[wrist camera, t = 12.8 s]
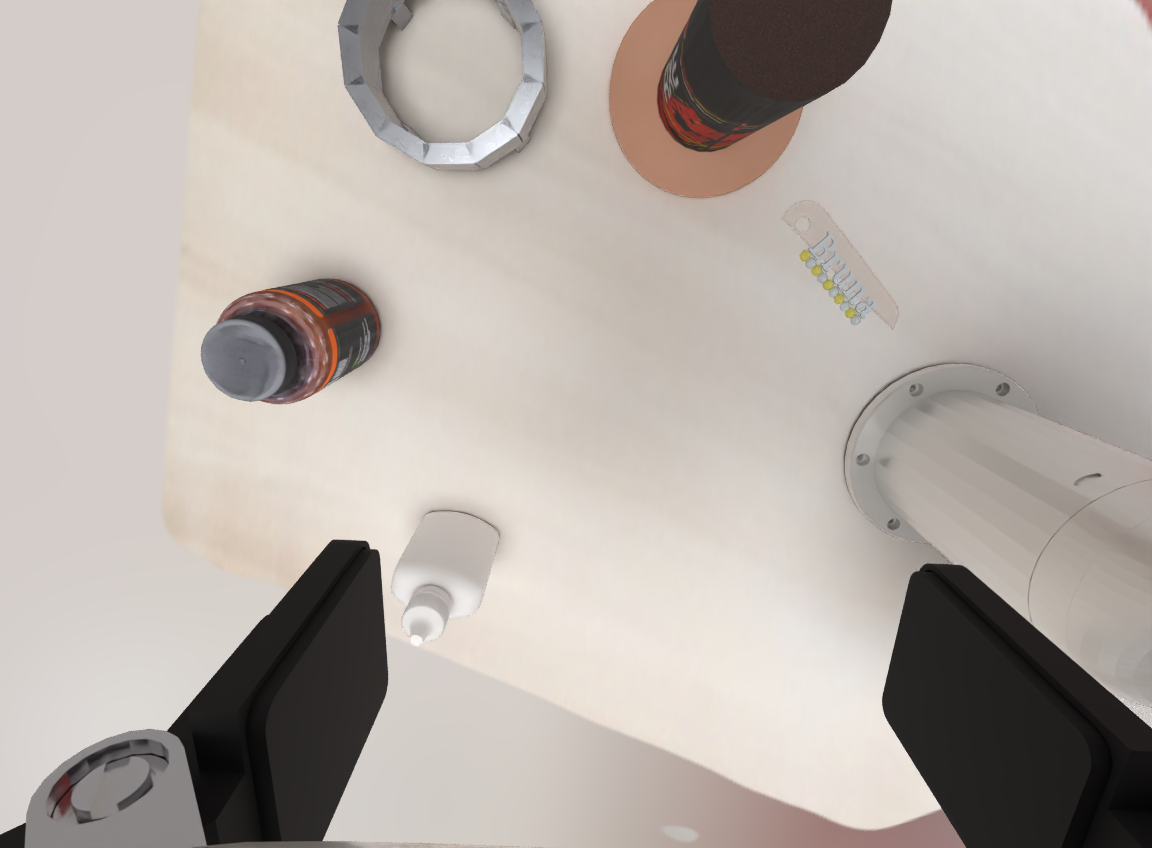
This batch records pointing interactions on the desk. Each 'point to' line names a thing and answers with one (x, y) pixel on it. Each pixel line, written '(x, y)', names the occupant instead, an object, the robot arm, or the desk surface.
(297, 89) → the desk surface
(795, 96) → the deodorant
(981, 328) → the desk surface
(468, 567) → the eye dropper bottle
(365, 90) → the ring stand
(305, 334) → the supplement bottle
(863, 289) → the keychain
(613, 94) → the coaster
